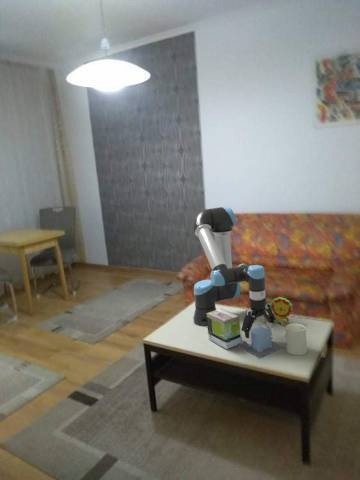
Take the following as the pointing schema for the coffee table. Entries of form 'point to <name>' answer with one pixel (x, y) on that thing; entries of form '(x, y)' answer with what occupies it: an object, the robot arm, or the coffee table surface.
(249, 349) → the letter mat
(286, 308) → the toy lion
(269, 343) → the blue cube
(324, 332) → the coffee table surface
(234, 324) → the tea box
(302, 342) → the can
